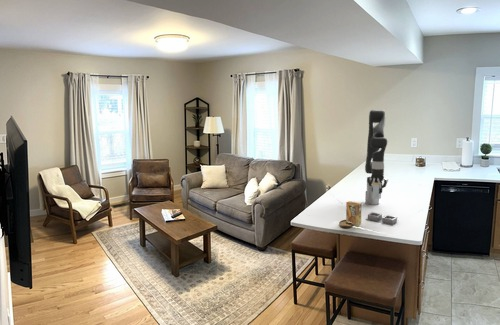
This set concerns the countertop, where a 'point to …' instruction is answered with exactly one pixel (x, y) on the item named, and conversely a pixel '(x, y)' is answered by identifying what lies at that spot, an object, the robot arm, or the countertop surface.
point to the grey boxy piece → (382, 219)
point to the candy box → (353, 212)
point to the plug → (376, 191)
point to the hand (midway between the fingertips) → (376, 192)
